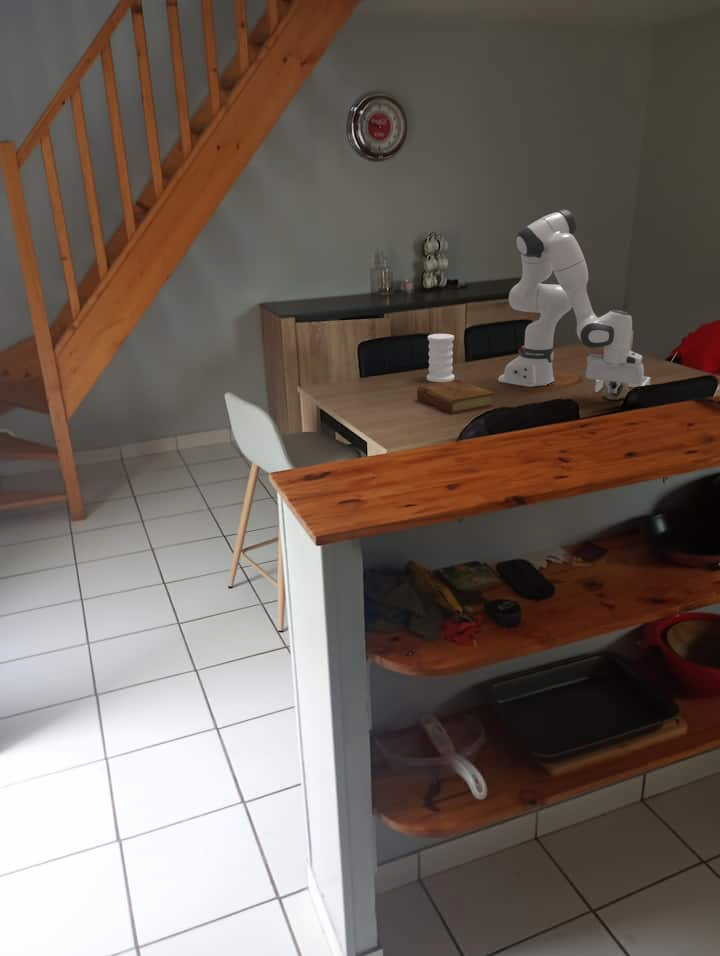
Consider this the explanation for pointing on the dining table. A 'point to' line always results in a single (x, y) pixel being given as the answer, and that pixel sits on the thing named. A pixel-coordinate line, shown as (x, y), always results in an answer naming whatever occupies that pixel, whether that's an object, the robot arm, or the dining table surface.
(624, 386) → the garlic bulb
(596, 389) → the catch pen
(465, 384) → the diary
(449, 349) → the decorative container
